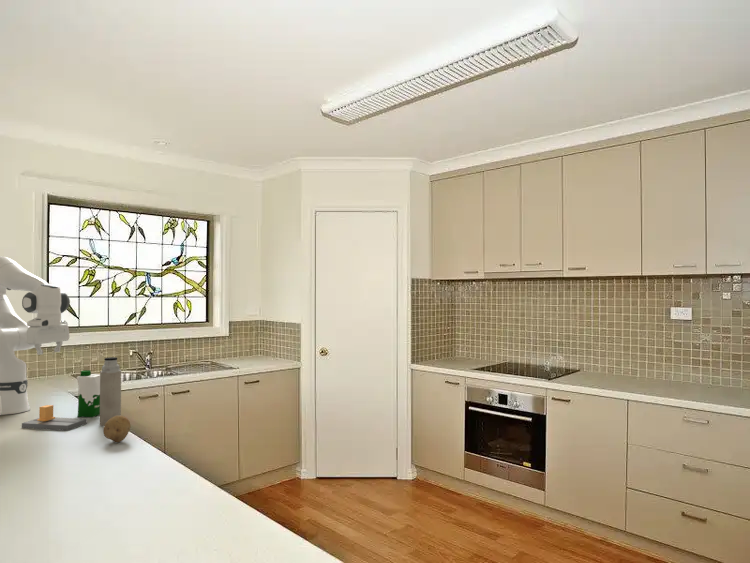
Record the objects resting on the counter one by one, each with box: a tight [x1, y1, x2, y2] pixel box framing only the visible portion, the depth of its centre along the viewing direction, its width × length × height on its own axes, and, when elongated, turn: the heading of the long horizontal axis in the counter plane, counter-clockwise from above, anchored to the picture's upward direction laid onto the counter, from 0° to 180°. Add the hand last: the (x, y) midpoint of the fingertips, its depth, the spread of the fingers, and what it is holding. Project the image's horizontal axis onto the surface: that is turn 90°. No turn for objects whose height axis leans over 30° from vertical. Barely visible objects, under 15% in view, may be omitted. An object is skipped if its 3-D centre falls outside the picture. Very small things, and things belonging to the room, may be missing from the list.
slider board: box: [21, 416, 88, 432], centre depth 217 cm, size 21×11×2 cm, turn 80°
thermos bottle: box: [99, 356, 122, 427], centre depth 221 cm, size 8×8×28 cm
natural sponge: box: [103, 415, 132, 444], centre depth 194 cm, size 9×9×10 cm
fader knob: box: [36, 404, 56, 421], centre depth 218 cm, size 4×5×6 cm
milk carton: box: [76, 369, 100, 418], centre depth 236 cm, size 9×9×20 cm
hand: (48, 353), depth 226 cm, fingers open, 8 cm apart
